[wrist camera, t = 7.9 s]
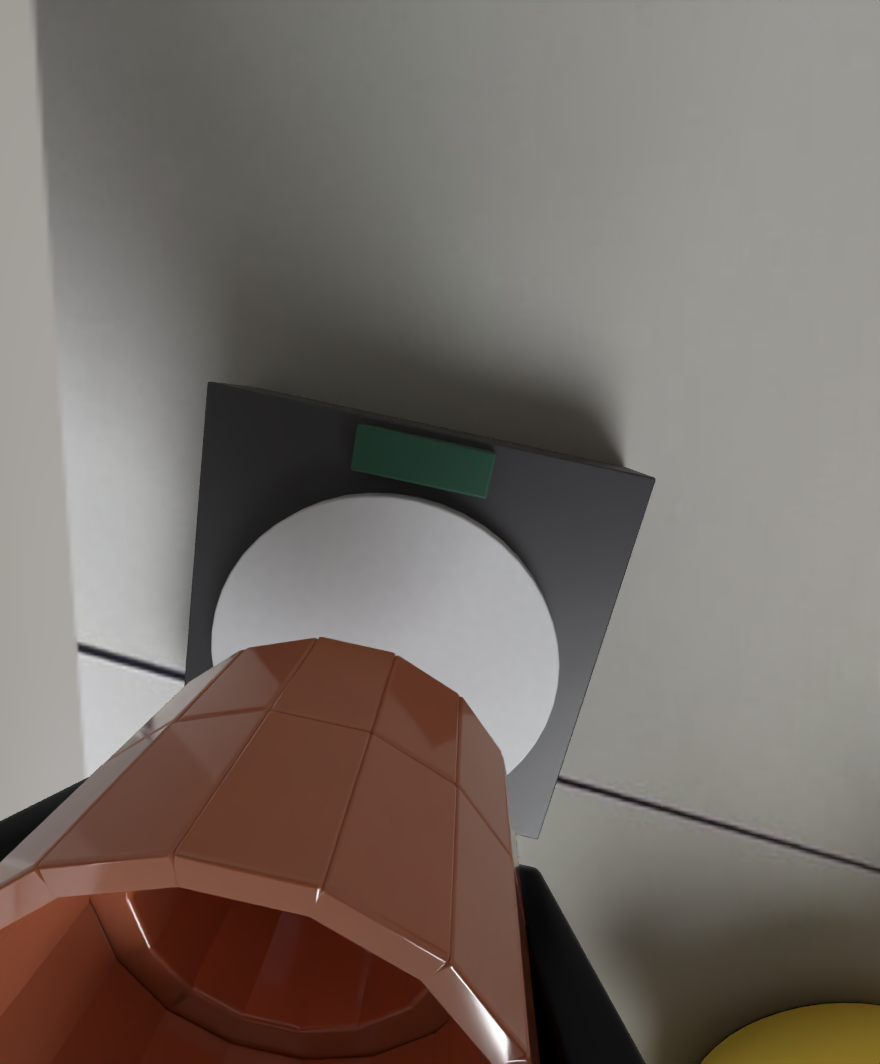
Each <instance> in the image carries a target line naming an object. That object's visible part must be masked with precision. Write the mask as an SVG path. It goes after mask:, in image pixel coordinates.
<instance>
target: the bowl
mask: <svg viewBox="0 0 880 1064" xmlns="http://www.w3.org/2000/svg"><path fill="white" fill-rule="evenodd" d="M0 1064H540V1056H539V1047H538V1037H537V1028H536V1018H535V1009H534V999H533V990H532V980H531V971H530V961H529V952H528V942H527V933H526V928H525V915H524V905H523V896H522V886H521V876H520V867H519V857H518V848H517V838H516V829H515V819H514V811H513V806H512V800H511V795H510V790H509V784H508V779H507V773H506V768H505V762H504V758H503V756H502V753H501V750H500V749H499V747H498V746H497V745H496V743H495V742H494V740H493V739H492V737H491V736H490V735H489V733H488V732H487V730H486V729H485V728H484V726H483V725H482V723H481V722H480V721H479V719H478V718H477V716H476V715H475V714H474V712H473V711H472V709H471V708H470V707H469V705H468V704H467V702H466V701H465V700H464V698H463V697H462V696H459V694H458V693H457V692H455V691H454V690H452V689H451V688H449V687H447V686H446V685H444V684H443V683H441V682H440V681H438V680H436V679H435V678H433V677H432V676H430V675H429V674H427V673H426V672H424V671H422V670H421V669H419V668H418V667H416V666H415V665H413V664H412V663H410V662H408V661H407V660H405V659H404V658H402V657H401V656H399V655H396V656H395V653H394V652H390V651H385V650H380V649H376V648H371V647H367V646H362V645H358V644H353V643H349V642H344V641H340V640H335V639H331V638H326V637H319V638H318V639H317V638H309V639H302V640H295V641H288V642H282V643H275V644H268V645H261V646H255V647H249V648H247V649H245V650H240V651H238V652H236V653H235V654H233V655H232V656H230V657H228V658H227V659H225V660H224V661H222V662H220V663H219V664H217V665H216V666H214V667H212V668H211V669H209V670H208V671H206V672H204V673H203V674H201V675H200V676H198V677H196V678H195V679H193V680H192V681H190V682H189V683H188V684H187V685H186V686H184V687H183V688H182V689H181V690H180V691H179V692H178V693H177V694H176V695H175V696H174V697H173V698H172V699H171V700H170V701H169V702H168V703H167V704H166V705H165V706H164V707H163V708H162V709H160V710H159V711H158V712H157V713H156V714H155V715H154V716H153V717H152V718H151V719H150V720H149V721H148V722H147V723H146V724H145V725H144V726H143V727H142V728H141V729H140V730H139V731H138V732H136V733H135V734H134V735H133V736H132V737H131V738H130V739H129V740H128V741H127V742H126V743H125V744H124V745H123V746H122V747H121V748H120V749H119V750H118V751H117V752H116V753H115V754H114V755H112V756H111V757H110V759H108V760H107V761H106V762H105V763H104V764H103V765H101V766H100V767H99V768H98V769H97V770H96V771H95V772H94V773H93V774H92V775H91V776H90V777H89V778H88V779H87V780H86V781H85V782H84V783H83V784H82V785H81V786H79V787H78V788H77V789H76V790H75V791H74V792H73V793H72V794H71V795H70V796H69V797H68V798H67V799H66V800H65V801H64V802H63V803H62V804H61V805H60V806H59V807H58V808H57V809H55V810H54V811H53V812H52V813H51V814H50V815H49V816H48V817H47V818H46V819H45V820H44V821H43V822H42V823H41V824H40V825H39V826H38V827H37V828H36V829H35V830H34V831H32V832H31V833H30V834H29V835H28V836H27V837H26V838H25V839H24V840H23V841H22V842H21V843H20V844H19V845H18V846H17V847H16V848H15V849H14V850H13V851H12V852H11V853H9V854H8V855H7V856H6V857H5V858H4V859H3V860H2V861H1V862H0Z"/></svg>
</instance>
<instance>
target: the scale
mask: <svg viewBox="0 0 880 1064" xmlns="http://www.w3.org/2000/svg"><path fill="white" fill-rule="evenodd" d="M654 483H655V478H654V477H651V476H648V475H645V474H643V473H640V472H637V471H634V470H631V469H629V468H626V467H622V466H617V465H612V464H608V463H603V462H598V461H594V460H589V459H584V458H580V457H575V456H571V455H566V454H561V453H557V452H552V451H547V450H543V449H538V448H533V447H529V446H524V445H520V444H515V443H510V442H506V441H501V440H496V439H492V438H487V437H482V436H478V435H473V434H469V433H464V432H459V431H455V430H450V429H445V428H441V427H436V426H431V425H427V424H422V423H417V422H413V421H408V420H404V419H399V418H394V417H390V416H385V415H380V414H376V413H371V412H366V411H362V410H357V409H353V408H348V407H343V406H339V405H334V404H329V403H325V402H320V401H315V400H311V399H306V398H302V397H297V396H292V395H288V394H283V393H278V392H274V391H269V390H264V389H260V388H255V387H250V386H241V385H233V384H224V383H216V382H208V385H207V398H206V411H205V424H204V437H203V450H202V463H201V477H200V490H199V503H198V516H197V529H196V542H195V555H194V568H193V581H192V594H191V607H190V620H189V633H188V646H187V659H186V672H185V685H184V686H186V685H187V684H188V683H189V682H190V681H192V680H193V679H195V678H196V677H198V676H200V675H201V674H203V673H204V672H206V671H208V670H209V669H211V668H212V667H214V666H216V665H217V664H219V663H220V662H222V661H224V660H225V659H227V658H228V657H230V656H232V655H233V654H235V653H236V652H238V651H240V650H245V649H247V648H249V647H255V646H261V645H268V644H275V643H282V642H288V641H295V640H302V639H309V638H317V639H318V638H319V637H326V638H331V639H335V640H340V641H344V642H349V643H353V644H358V645H362V646H367V647H371V648H376V649H380V650H385V651H390V652H394V653H395V656H396V655H399V656H401V657H402V658H404V659H405V660H407V661H408V662H410V663H412V664H413V665H415V666H416V667H418V668H419V669H421V670H422V671H424V672H426V673H427V674H429V675H430V676H432V677H433V678H435V679H436V680H438V681H440V682H441V683H443V684H444V685H446V686H447V687H449V688H451V689H452V690H454V691H455V692H457V693H458V694H459V696H462V697H463V698H464V700H465V701H466V702H467V704H468V705H469V707H470V708H471V709H472V711H473V712H474V714H475V715H476V716H477V718H478V719H479V721H480V722H481V723H482V725H483V726H484V728H485V729H486V730H487V732H488V733H489V735H490V736H491V737H492V739H493V740H494V742H495V743H496V745H497V746H498V747H499V749H500V750H501V753H502V756H503V758H504V762H505V768H506V773H507V779H508V784H509V790H510V795H511V800H512V806H513V811H514V819H515V829H516V835H521V836H525V837H530V838H534V839H538V837H539V834H540V831H541V828H542V825H543V822H544V819H545V816H546V813H547V810H548V807H549V804H550V801H551V797H552V794H553V791H554V788H555V785H556V782H557V779H558V776H559V773H560V770H561V767H562V764H563V761H564V758H565V755H566V752H567V749H568V746H569V743H570V739H571V736H572V733H573V730H574V727H575V724H576V721H577V718H578V715H579V712H580V709H581V706H582V703H583V700H584V697H585V694H586V691H587V688H588V685H589V681H590V678H591V675H592V672H593V669H594V666H595V663H596V660H597V657H598V654H599V651H600V648H601V645H602V642H603V639H604V636H605V633H606V630H607V627H608V624H609V620H610V617H611V614H612V611H613V608H614V605H615V602H616V599H617V596H618V593H619V590H620V587H621V584H622V581H623V578H624V575H625V572H626V569H627V566H628V562H629V559H630V556H631V553H632V550H633V547H634V544H635V541H636V538H637V535H638V532H639V529H640V526H641V523H642V520H643V517H644V514H645V511H646V508H647V504H648V501H649V498H650V495H651V492H652V489H653V486H654Z"/></svg>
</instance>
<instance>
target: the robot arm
mask: <svg viewBox="0 0 880 1064" xmlns="http://www.w3.org/2000/svg"><path fill="white" fill-rule="evenodd" d="M88 778H89V777H88ZM88 778H86V779H84V780H82V781H80V782H78V783H76V784H74V785H72V786H70V787H68V788H66V789H64V790H62V791H60V792H58V793H56V794H54V795H52V796H50V797H48V798H46V799H44V800H42V801H40V802H38V803H36V804H34V805H32V806H30V807H28V808H26V809H24V810H22V811H20V812H18V813H16V814H14V815H12V816H10V817H8V818H6V819H4V820H2V821H0V862H1V861H2V860H3V859H4V858H5V857H6V856H7V855H8V854H9V853H11V852H12V851H13V850H14V849H15V848H16V847H17V846H18V845H19V844H20V843H21V842H22V841H23V840H24V839H25V838H26V837H27V836H28V835H29V834H30V833H31V832H32V831H34V830H35V829H36V828H37V827H38V826H39V825H40V824H41V823H42V822H43V821H44V820H45V819H46V818H47V817H48V816H49V815H50V814H51V813H52V812H53V811H54V810H55V809H57V808H58V807H59V806H60V805H61V804H62V803H63V802H64V801H65V800H66V799H67V798H68V797H69V796H70V795H71V794H72V793H73V792H74V791H75V790H76V789H77V788H78V787H79V786H81V785H82V784H83V783H84V782H85V781H86V780H87V779H88ZM519 867H520V876H521V886H522V896H523V905H524V915H525V928H526V933H527V942H528V952H529V961H530V971H531V980H532V990H533V999H534V1009H535V1018H536V1028H537V1037H538V1047H539V1056H540V1064H646V1063H645V1062H644V1060H643V1058H642V1056H641V1054H640V1052H639V1051H638V1049H637V1047H636V1045H635V1043H634V1042H633V1040H632V1038H631V1036H630V1034H629V1032H628V1031H627V1029H626V1027H625V1025H624V1023H623V1022H622V1020H621V1018H620V1016H619V1014H618V1013H617V1011H616V1009H615V1007H614V1005H613V1003H612V1002H611V1000H610V998H609V996H608V994H607V993H606V991H605V989H604V987H603V985H602V983H601V982H600V980H599V978H598V976H597V974H596V973H595V971H594V969H593V967H592V965H591V964H590V962H589V960H588V958H587V956H586V954H585V953H584V951H583V949H582V947H581V945H580V944H579V942H578V940H577V938H576V936H575V934H574V933H573V931H572V929H571V927H570V925H569V924H568V922H567V920H566V918H565V916H564V914H563V913H562V911H561V909H560V907H559V905H558V904H557V902H556V900H555V898H554V896H553V895H552V893H551V891H550V889H549V887H548V885H547V884H546V882H545V880H544V878H543V876H542V875H541V873H540V872H539V870H538V869H536V868H534V867H530V866H525V865H521V864H519Z"/></svg>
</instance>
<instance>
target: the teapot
mask: <svg viewBox="0 0 880 1064" xmlns="http://www.w3.org/2000/svg"><path fill="white" fill-rule="evenodd" d="M701 1064H880V1005H872V1004H864V1003H833V1004H819V1005H813V1006H806V1007H800V1008H796V1009H792V1010H788V1011H784V1012H780V1013H777V1014H774V1015H771V1016H768V1017H766V1018H763V1019H760V1020H758V1021H756V1022H754V1023H752V1024H750V1025H747V1026H745V1027H744V1028H742V1029H740V1030H739V1031H737V1032H735V1033H734V1034H732V1035H730V1036H729V1037H728V1038H726V1039H725V1040H724V1041H722V1042H721V1043H720V1044H719V1045H717V1046H716V1047H715V1048H714V1049H713V1050H712V1051H711V1052H710V1053H709V1054H708V1055H707V1056H706V1057H705V1058H704V1060H703V1061H702V1062H701Z"/></svg>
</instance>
